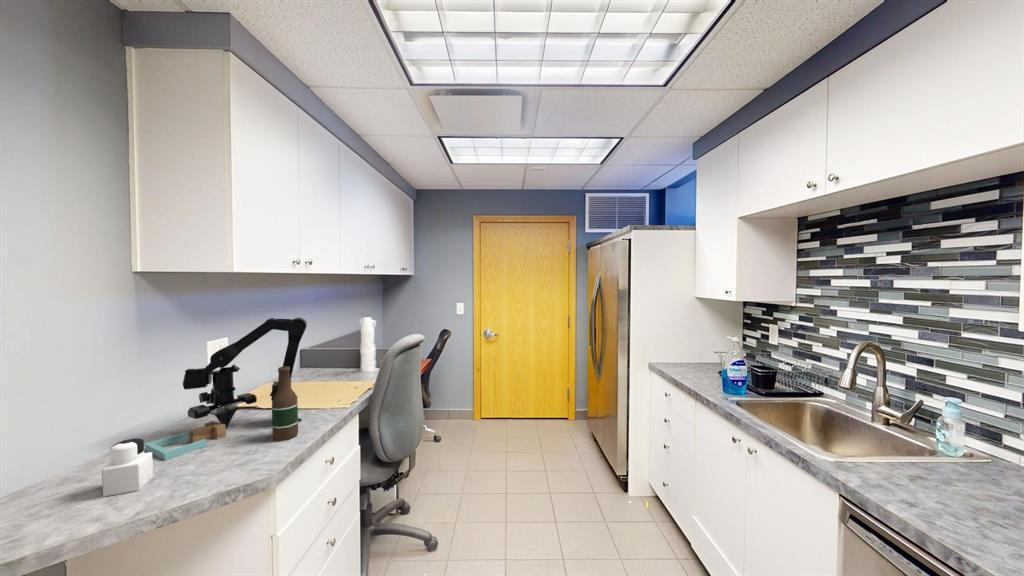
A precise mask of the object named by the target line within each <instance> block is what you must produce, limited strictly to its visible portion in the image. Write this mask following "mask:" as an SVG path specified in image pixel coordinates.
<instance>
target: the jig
mask: <svg viewBox="0 0 1024 576" xmlns="http://www.w3.org/2000/svg"><path fill="white" fill-rule="evenodd" d="M188 439H189V431H184V432H181V433H178V434H173V435H172V436H167V437H165V438H161V439H157V440H155V441H150V442H147V443H144V451H146V452H147V453H149V452H152V455H154V456H155V457H157V458H160V459H161V460H163V461H169V460H171V459H173V458H175V457H178V456H179V457H180V456H182V455H185V454H187V453H191V452H193V451H195V450H199V449H202V448H205V447H207V446H208V443H207V442H208V441H207V440H206V439H203V440H200V441H197V442H194V443H190V442H189V443H188V444H185V445H182V446H179V447H176V448H172V449H167V448H164V447H166V446H169V445H171V444H172V445H173V444H175V443H178V442H181V441H185V440H188Z"/></svg>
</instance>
